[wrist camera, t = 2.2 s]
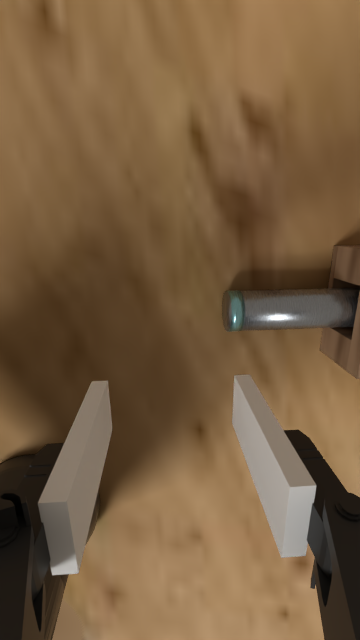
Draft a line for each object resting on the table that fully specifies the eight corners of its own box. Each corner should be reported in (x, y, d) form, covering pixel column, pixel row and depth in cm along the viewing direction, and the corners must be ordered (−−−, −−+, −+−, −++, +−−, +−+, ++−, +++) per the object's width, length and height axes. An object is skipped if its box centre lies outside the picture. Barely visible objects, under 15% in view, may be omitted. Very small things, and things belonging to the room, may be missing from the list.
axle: (221, 324, 33) (229, 337, 29) (222, 287, 31) (231, 295, 28) (414, 317, 34) (447, 329, 30) (422, 281, 33) (458, 289, 29)
